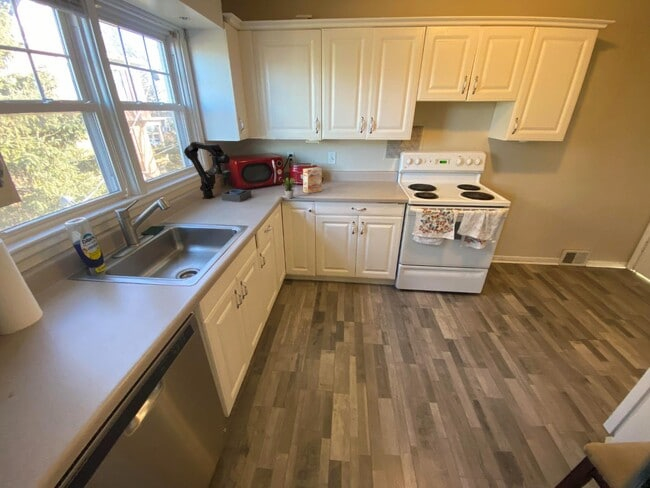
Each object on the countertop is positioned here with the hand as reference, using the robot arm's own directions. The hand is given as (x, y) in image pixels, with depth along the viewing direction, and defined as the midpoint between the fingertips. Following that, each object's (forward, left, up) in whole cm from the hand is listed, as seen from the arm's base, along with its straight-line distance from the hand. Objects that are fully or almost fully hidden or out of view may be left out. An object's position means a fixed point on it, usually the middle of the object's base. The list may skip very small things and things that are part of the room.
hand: (219, 184), depth 208 cm
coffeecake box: (+56, +48, -12) cm, 75 cm away
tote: (+8, +8, -12) cm, 16 cm away
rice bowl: (+8, +8, -12) cm, 16 cm away
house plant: (+46, +22, -12) cm, 52 cm away
